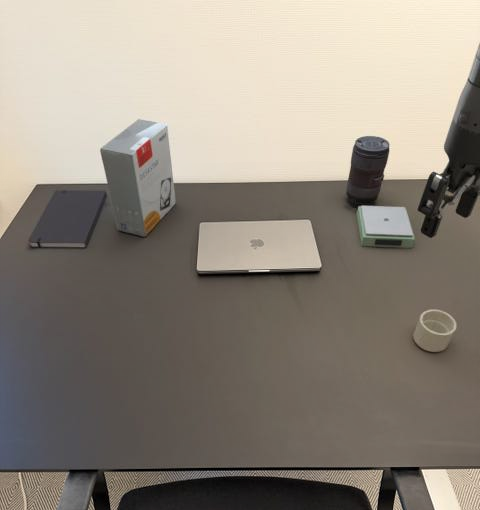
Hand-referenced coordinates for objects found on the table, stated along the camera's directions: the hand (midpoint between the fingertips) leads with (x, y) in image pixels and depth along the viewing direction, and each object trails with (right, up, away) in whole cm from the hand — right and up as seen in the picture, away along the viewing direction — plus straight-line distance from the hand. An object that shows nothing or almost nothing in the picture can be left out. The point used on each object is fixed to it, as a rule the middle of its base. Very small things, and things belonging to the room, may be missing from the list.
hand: (445, 224), depth 72 cm
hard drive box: (-53, +10, +40) cm, 67 cm away
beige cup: (+3, -18, +13) cm, 22 cm away
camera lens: (-2, +15, +44) cm, 46 cm away
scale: (+1, +6, +35) cm, 36 cm away
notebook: (-72, +9, +40) cm, 82 cm away
